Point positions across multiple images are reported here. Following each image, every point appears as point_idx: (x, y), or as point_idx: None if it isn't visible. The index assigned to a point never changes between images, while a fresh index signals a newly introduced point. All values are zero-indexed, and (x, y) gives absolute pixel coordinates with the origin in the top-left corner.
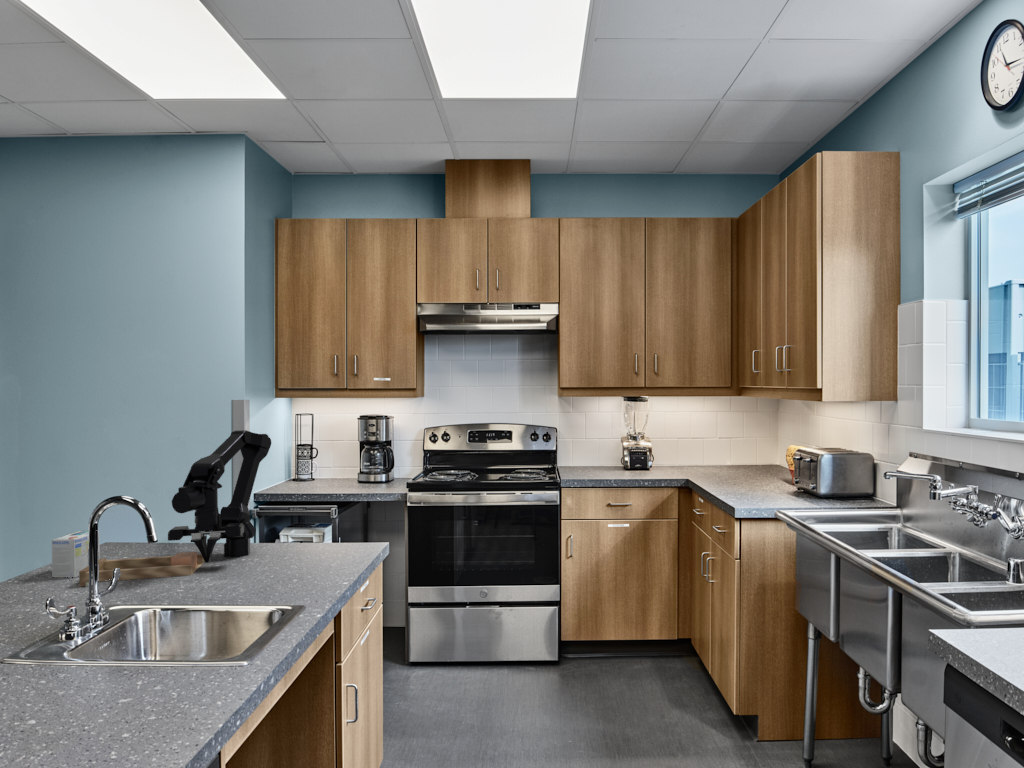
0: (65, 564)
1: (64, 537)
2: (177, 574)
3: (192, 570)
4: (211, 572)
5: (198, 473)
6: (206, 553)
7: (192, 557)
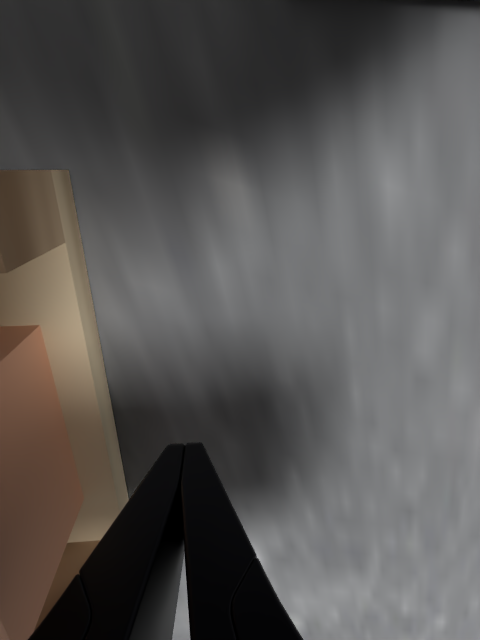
0: None
1: None
2: None
3: None
4: (235, 428)
5: None
6: (171, 569)
7: (14, 588)
